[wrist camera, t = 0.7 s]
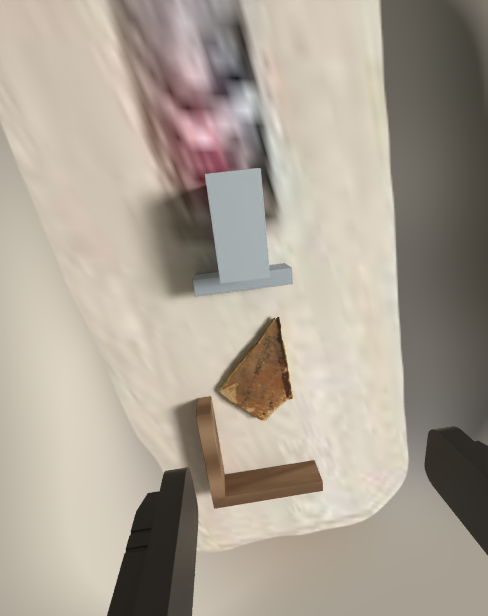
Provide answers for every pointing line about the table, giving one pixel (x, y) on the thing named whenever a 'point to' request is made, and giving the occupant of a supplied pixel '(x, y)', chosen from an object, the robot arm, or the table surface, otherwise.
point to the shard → (261, 376)
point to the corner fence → (249, 482)
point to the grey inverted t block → (239, 236)
